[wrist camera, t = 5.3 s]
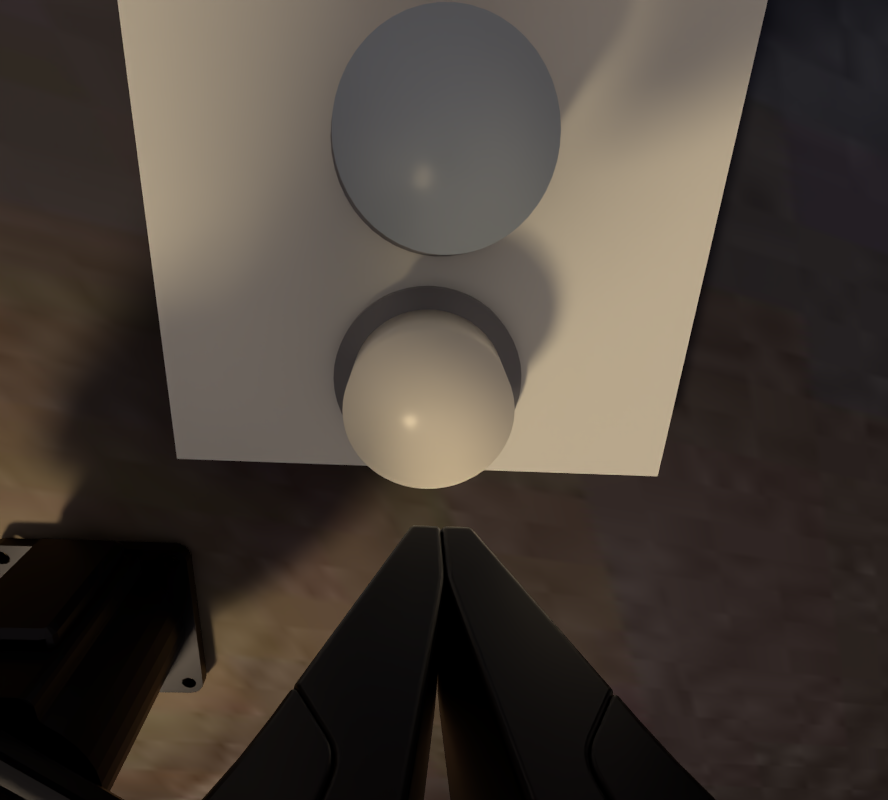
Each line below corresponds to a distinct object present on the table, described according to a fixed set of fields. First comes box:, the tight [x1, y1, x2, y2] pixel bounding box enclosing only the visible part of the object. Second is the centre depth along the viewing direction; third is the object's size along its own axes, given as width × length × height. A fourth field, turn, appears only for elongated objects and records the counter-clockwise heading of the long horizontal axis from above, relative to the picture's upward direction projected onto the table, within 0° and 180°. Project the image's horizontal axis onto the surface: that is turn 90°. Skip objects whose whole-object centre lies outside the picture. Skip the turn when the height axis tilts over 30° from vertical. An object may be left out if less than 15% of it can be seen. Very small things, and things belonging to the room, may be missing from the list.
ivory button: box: [342, 310, 515, 489], centre depth 14 cm, size 4×4×2 cm
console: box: [118, 0, 768, 476], centre depth 13 cm, size 23×14×2 cm, turn 177°
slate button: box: [331, 2, 561, 255], centre depth 11 cm, size 4×4×2 cm
